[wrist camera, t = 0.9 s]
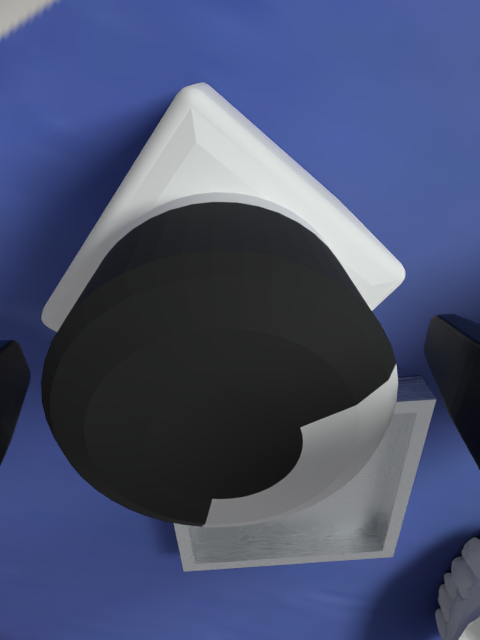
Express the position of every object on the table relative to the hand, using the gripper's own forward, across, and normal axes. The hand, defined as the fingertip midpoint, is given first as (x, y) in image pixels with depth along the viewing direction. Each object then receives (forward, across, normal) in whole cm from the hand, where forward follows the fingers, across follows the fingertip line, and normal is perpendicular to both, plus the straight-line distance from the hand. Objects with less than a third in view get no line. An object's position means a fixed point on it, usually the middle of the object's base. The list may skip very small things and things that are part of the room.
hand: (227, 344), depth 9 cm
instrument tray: (+9, -3, +16) cm, 19 cm away
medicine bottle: (+9, 0, 0) cm, 9 cm away
